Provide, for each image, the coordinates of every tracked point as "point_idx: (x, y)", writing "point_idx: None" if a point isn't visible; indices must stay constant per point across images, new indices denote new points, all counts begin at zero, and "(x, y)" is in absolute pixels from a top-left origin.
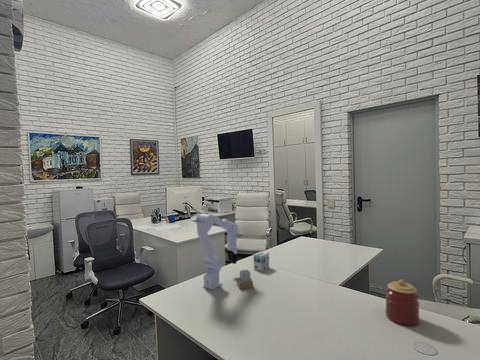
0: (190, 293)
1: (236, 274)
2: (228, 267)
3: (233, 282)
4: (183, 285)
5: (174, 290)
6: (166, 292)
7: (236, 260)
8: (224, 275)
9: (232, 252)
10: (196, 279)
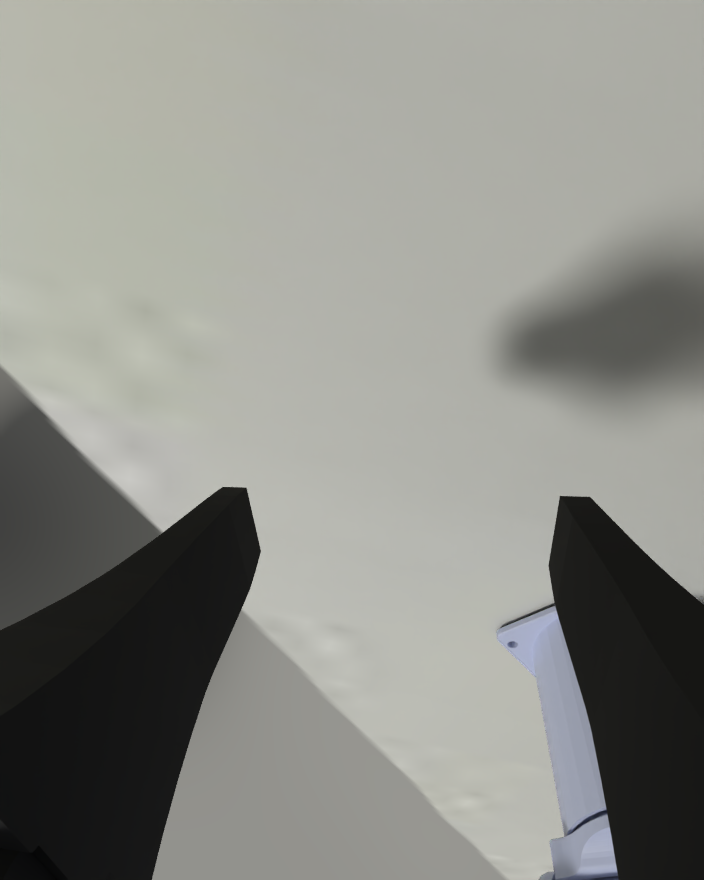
0: None
1: (363, 287)
2: (15, 321)
3: (675, 433)
4: (460, 791)
5: (528, 840)
6: (535, 868)
7: (645, 555)
8: (344, 466)
9: (120, 670)
10: (364, 707)
